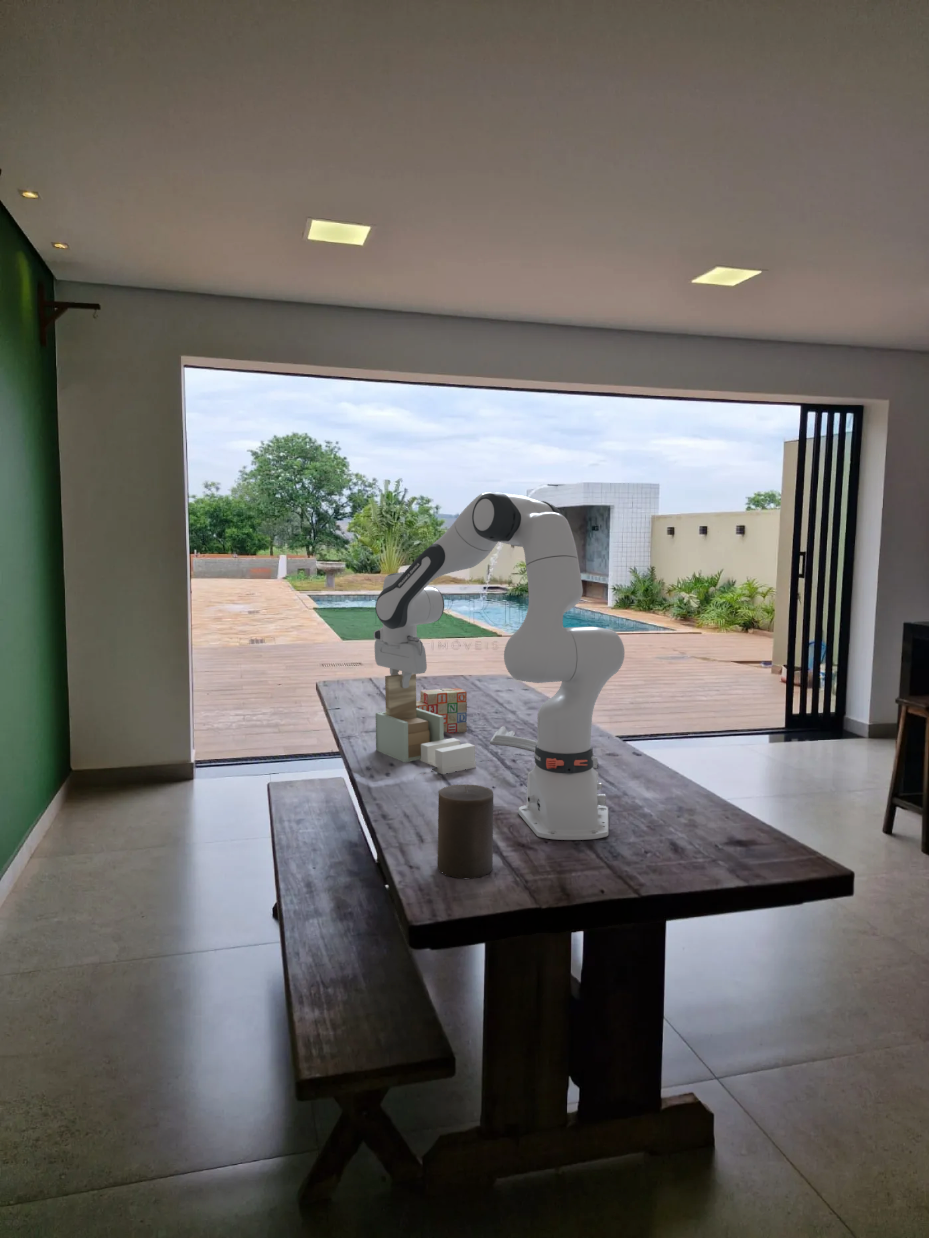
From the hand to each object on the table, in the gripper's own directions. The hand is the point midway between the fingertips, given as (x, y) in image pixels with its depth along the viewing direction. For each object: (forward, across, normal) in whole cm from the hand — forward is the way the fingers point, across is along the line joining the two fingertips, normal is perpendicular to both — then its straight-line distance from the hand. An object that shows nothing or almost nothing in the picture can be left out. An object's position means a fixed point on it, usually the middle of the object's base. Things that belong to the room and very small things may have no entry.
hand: (400, 686), depth 215 cm
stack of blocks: (+18, +15, -19) cm, 30 cm away
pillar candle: (+19, -69, +30) cm, 78 cm away
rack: (+18, -4, 0) cm, 18 cm away
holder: (+18, -17, -3) cm, 25 cm away
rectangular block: (+12, 0, 0) cm, 12 cm away
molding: (+19, -19, -33) cm, 42 cm away
